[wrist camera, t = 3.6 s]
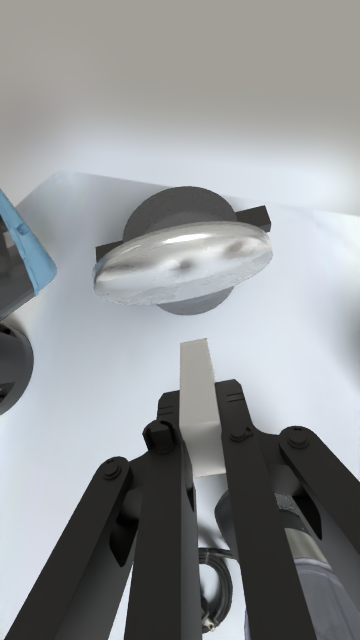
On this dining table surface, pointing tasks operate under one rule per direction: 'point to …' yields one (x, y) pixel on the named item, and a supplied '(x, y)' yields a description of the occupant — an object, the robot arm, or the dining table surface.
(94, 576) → the robot arm
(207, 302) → the cooker pot
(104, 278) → the cooker lid
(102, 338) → the dining table surface
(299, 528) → the milk frother
